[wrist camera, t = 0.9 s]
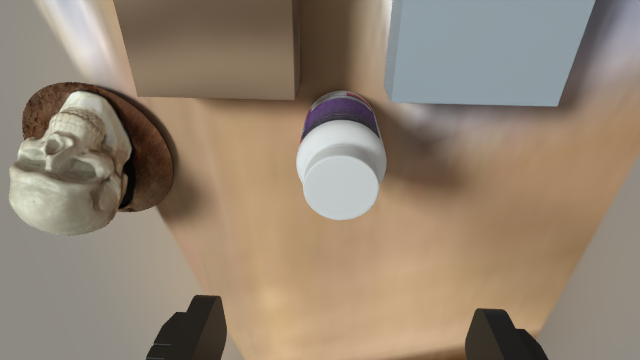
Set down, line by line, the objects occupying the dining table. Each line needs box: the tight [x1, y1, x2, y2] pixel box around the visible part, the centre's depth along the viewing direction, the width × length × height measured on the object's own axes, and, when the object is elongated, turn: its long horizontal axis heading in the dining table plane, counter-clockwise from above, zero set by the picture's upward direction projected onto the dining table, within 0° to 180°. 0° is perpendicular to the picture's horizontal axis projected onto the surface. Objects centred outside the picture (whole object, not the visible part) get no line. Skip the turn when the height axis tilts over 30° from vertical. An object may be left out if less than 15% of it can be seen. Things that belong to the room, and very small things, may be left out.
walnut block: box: [113, 0, 301, 100], centre depth 21 cm, size 10×10×4 cm
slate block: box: [384, 0, 596, 106], centre depth 20 cm, size 10×10×4 cm
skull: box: [9, 82, 173, 236], centre depth 27 cm, size 12×10×10 cm
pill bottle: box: [296, 91, 387, 220], centre depth 22 cm, size 5×5×10 cm
